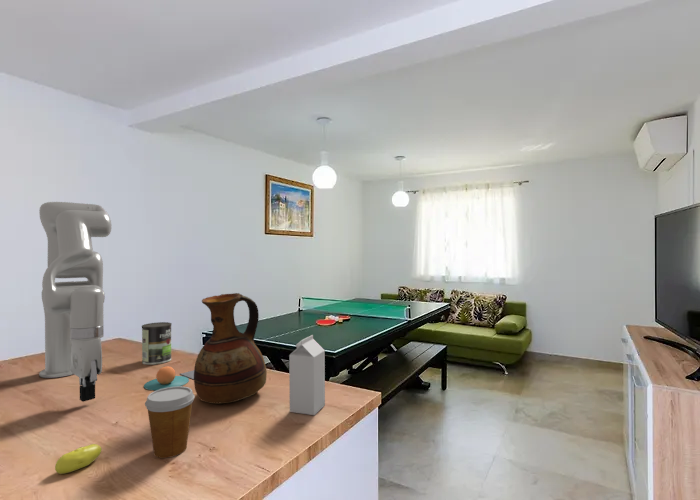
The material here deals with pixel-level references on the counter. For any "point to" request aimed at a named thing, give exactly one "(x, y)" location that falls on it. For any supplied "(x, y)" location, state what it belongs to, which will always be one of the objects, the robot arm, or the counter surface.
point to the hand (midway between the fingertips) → (87, 399)
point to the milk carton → (307, 377)
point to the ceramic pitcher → (229, 354)
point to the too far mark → (189, 374)
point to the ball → (165, 375)
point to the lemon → (77, 458)
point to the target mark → (156, 385)
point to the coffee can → (156, 343)
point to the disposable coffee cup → (169, 419)
